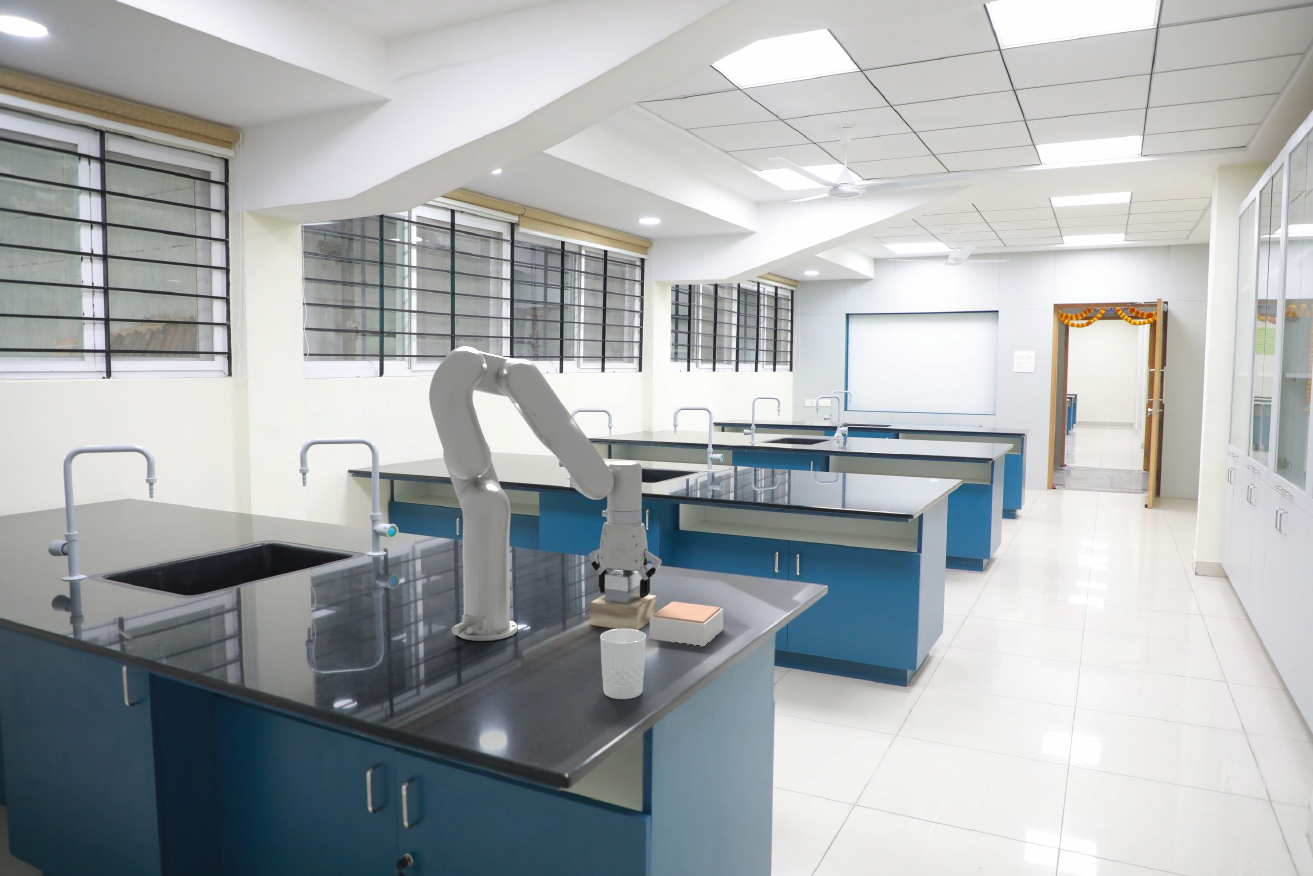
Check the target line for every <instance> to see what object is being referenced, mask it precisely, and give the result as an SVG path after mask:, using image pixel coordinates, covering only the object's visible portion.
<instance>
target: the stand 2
mask: <svg viewBox="0 0 1313 876" xmlns="http://www.w3.org/2000/svg"><path fill="white" fill-rule="evenodd" d="M723 630H724V608H721V606H720V607H719V606H713V605H705V604H698V603H697V604H696V603H688V602H680V601H674V600H673V601H671V602H669V603H668V604H667V605H665V606H664V607H662V608H661V609H659V610H657V612H656V613H655V614H653V615H652V616H651V617H650V622H649V639H650V640H654V641H655V640H656V641H661V642H662V641H663V642H668V641H669V642H668V643H675V642H678V643H677V644H682V643H687V644H686V645H689V644H693V645H692V646H696V645H700V646H699V647H703V646H705V645H706V644H707V643H708V642H709V643H710V642H711V641H712V640H714V639H715V636H716V635H717V636H718V635H719V634H720V633H721V632H722V631H723ZM709 643H708V644H709ZM708 644H707V645H708ZM707 645H706V646H707ZM706 646H705V647H706Z"/></svg>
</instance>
